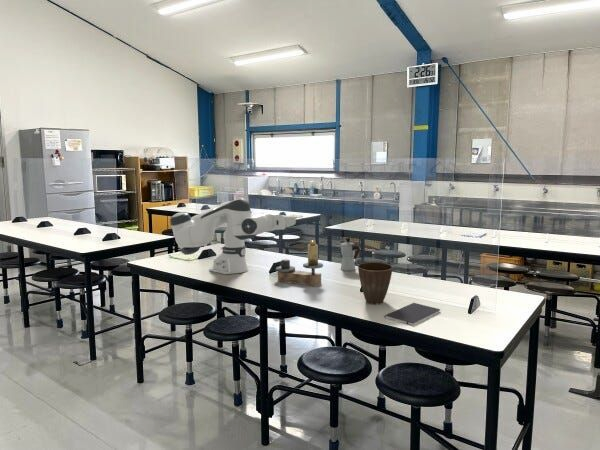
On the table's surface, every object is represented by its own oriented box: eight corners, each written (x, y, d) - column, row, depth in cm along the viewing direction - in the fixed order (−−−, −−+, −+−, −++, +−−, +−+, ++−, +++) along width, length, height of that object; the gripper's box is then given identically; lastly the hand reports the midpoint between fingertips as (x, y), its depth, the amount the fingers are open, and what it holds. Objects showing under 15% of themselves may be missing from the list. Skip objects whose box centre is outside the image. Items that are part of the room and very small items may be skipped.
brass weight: (306, 265, 227) (305, 241, 226) (310, 263, 232) (310, 239, 230) (315, 266, 225) (314, 242, 223) (319, 264, 229) (319, 240, 227)
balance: (272, 281, 236) (272, 261, 234) (282, 276, 244) (282, 257, 243) (317, 287, 223) (317, 266, 222) (326, 282, 232) (326, 262, 230)
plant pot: (398, 301, 201) (399, 266, 198) (378, 309, 191) (379, 272, 188) (371, 294, 212) (371, 260, 209) (350, 301, 201) (350, 266, 199)
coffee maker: (334, 268, 260) (334, 237, 257) (345, 265, 266) (345, 235, 263) (354, 273, 249) (354, 240, 246) (364, 270, 255) (364, 238, 252)
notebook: (413, 306, 196) (384, 318, 181) (413, 302, 196) (384, 315, 181) (440, 312, 187) (412, 327, 173) (440, 309, 187) (412, 323, 172)
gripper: (249, 227, 217) (265, 223, 229) (286, 229, 207) (301, 225, 219) (249, 213, 216) (265, 210, 228) (286, 215, 206) (301, 212, 218)
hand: (283, 217), depth 223 cm, fingers open, 8 cm apart
